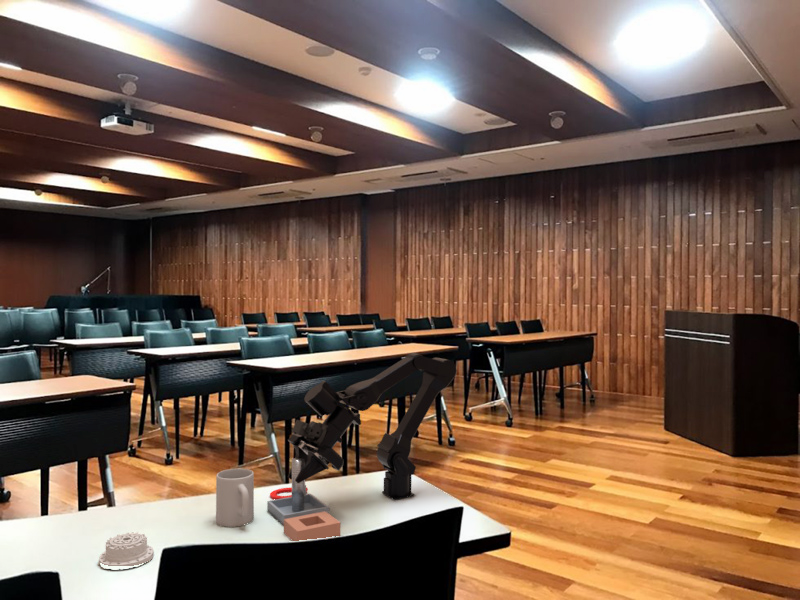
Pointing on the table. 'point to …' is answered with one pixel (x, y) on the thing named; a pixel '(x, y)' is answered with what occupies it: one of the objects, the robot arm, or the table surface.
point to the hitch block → (311, 526)
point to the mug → (234, 497)
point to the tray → (284, 511)
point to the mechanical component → (127, 550)
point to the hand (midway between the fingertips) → (292, 480)
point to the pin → (297, 485)
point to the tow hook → (275, 492)
